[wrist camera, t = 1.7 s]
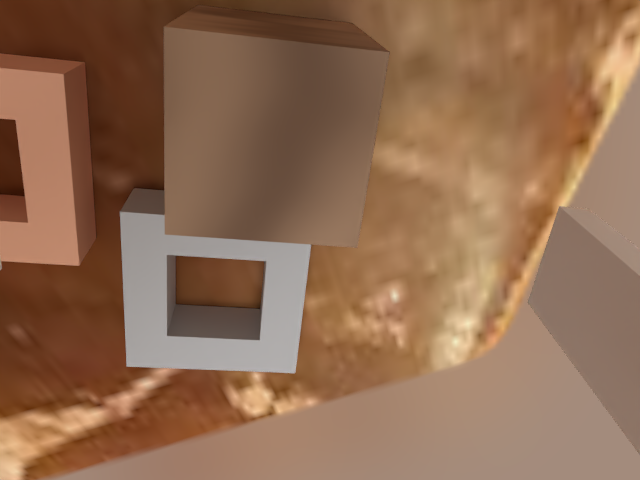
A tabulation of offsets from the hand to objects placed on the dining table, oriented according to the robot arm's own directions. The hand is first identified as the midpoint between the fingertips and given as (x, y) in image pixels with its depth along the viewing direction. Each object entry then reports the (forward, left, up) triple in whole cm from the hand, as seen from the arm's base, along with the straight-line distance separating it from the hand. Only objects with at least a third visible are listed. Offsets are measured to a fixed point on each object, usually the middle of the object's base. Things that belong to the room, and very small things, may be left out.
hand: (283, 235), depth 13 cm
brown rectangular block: (0, 0, -15) cm, 15 cm away
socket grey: (-2, -10, -15) cm, 18 cm away
